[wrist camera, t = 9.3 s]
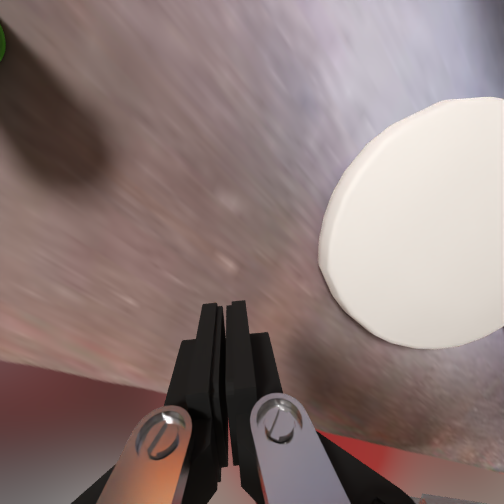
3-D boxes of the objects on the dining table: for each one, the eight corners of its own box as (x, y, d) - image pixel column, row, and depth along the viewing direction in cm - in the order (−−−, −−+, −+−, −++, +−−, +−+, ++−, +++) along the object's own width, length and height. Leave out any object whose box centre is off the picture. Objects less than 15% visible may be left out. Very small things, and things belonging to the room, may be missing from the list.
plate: (278, 292, 24) (457, 11, 18) (272, 271, 30) (403, 58, 24) (485, 401, 27) (684, 195, 22) (441, 362, 34) (586, 194, 28)
